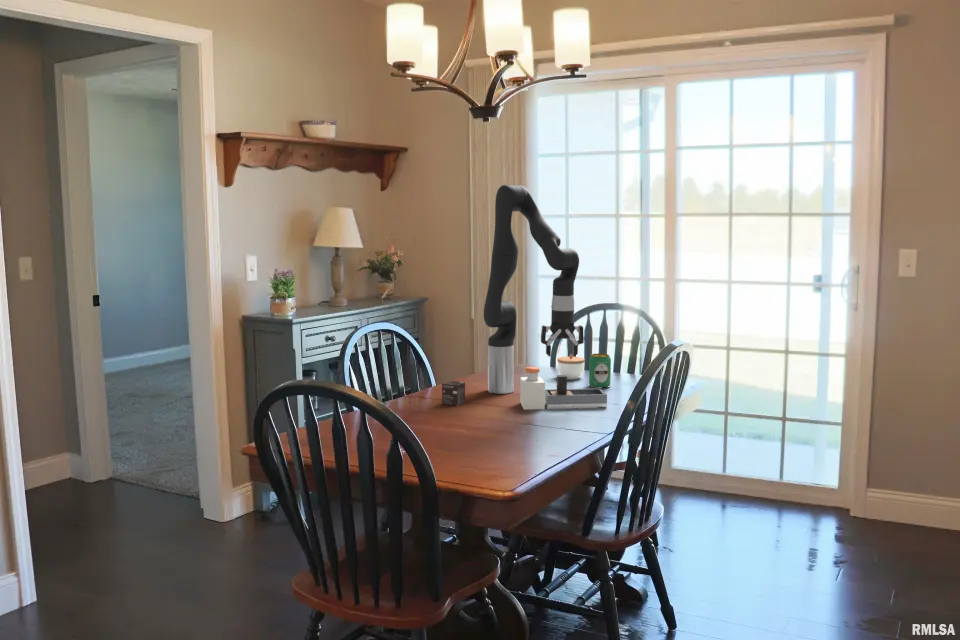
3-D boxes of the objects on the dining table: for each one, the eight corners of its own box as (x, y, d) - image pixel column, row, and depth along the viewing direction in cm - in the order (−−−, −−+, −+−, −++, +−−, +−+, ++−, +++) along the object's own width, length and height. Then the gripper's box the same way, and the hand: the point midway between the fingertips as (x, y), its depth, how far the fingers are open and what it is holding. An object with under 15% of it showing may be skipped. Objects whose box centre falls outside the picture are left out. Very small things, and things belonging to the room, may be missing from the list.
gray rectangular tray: (547, 409, 275) (547, 395, 274) (543, 402, 285) (543, 389, 284) (606, 407, 276) (607, 394, 276) (600, 401, 286) (600, 388, 286)
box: (441, 404, 283) (441, 383, 282) (450, 401, 288) (450, 380, 287) (457, 406, 280) (456, 385, 279) (465, 402, 285) (465, 381, 284)
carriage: (553, 402, 276) (553, 378, 275) (549, 398, 283) (549, 374, 282) (573, 402, 277) (573, 377, 276) (569, 397, 284) (570, 373, 283)
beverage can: (590, 388, 307) (591, 356, 306) (587, 384, 315) (587, 353, 313) (612, 388, 307) (612, 356, 306) (608, 384, 315) (608, 353, 314)
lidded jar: (554, 375, 332) (554, 352, 331) (579, 374, 334) (580, 352, 332) (561, 381, 321) (561, 357, 320) (587, 380, 323) (588, 356, 322)
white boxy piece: (523, 409, 274) (523, 383, 273) (520, 402, 284) (520, 377, 283) (544, 409, 275) (544, 382, 274) (540, 402, 285) (540, 376, 284)
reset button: (526, 383, 276) (526, 369, 275) (524, 380, 281) (524, 367, 280) (540, 383, 276) (540, 369, 276) (538, 380, 281) (538, 366, 280)
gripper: (543, 310, 272) (542, 358, 274) (586, 310, 273) (584, 358, 275) (540, 307, 279) (539, 354, 281) (581, 307, 280) (580, 354, 282)
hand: (561, 356), depth 278 cm, fingers open, 8 cm apart
